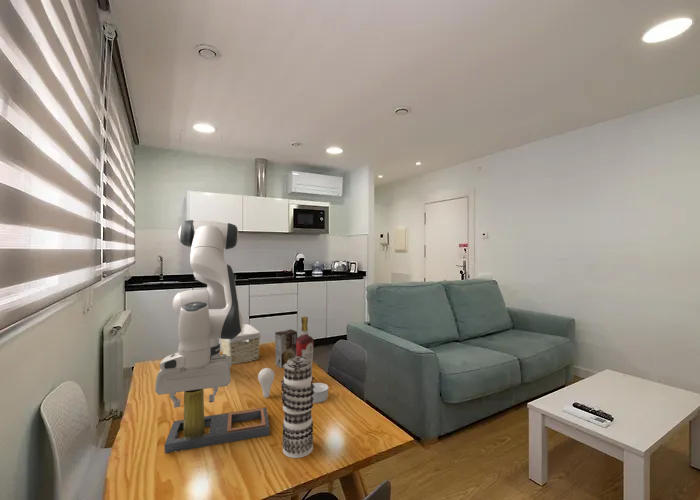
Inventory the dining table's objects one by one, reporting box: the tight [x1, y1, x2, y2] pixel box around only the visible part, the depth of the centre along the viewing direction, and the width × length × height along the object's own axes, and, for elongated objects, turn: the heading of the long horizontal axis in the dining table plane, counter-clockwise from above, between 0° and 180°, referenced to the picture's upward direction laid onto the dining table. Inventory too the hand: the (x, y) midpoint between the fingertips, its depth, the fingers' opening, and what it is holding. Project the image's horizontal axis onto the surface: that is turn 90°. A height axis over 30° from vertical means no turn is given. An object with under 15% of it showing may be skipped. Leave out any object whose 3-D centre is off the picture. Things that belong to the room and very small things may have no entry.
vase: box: [182, 389, 206, 438], centre depth 97 cm, size 6×6×14 cm
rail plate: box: [164, 406, 270, 454], centre depth 100 cm, size 13×28×3 cm, turn 109°
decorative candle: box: [280, 357, 315, 459], centre depth 91 cm, size 9×9×25 cm
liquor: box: [296, 316, 314, 383], centre depth 135 cm, size 7×7×28 cm
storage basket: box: [220, 323, 261, 365], centre depth 172 cm, size 24×16×15 cm
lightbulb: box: [257, 367, 275, 399], centre depth 123 cm, size 6×6×11 cm
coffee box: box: [274, 328, 298, 369], centre depth 159 cm, size 9×6×16 cm
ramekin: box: [312, 382, 330, 404], centre depth 122 cm, size 9×9×4 cm
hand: (194, 404), depth 97 cm, fingers open, 8 cm apart
